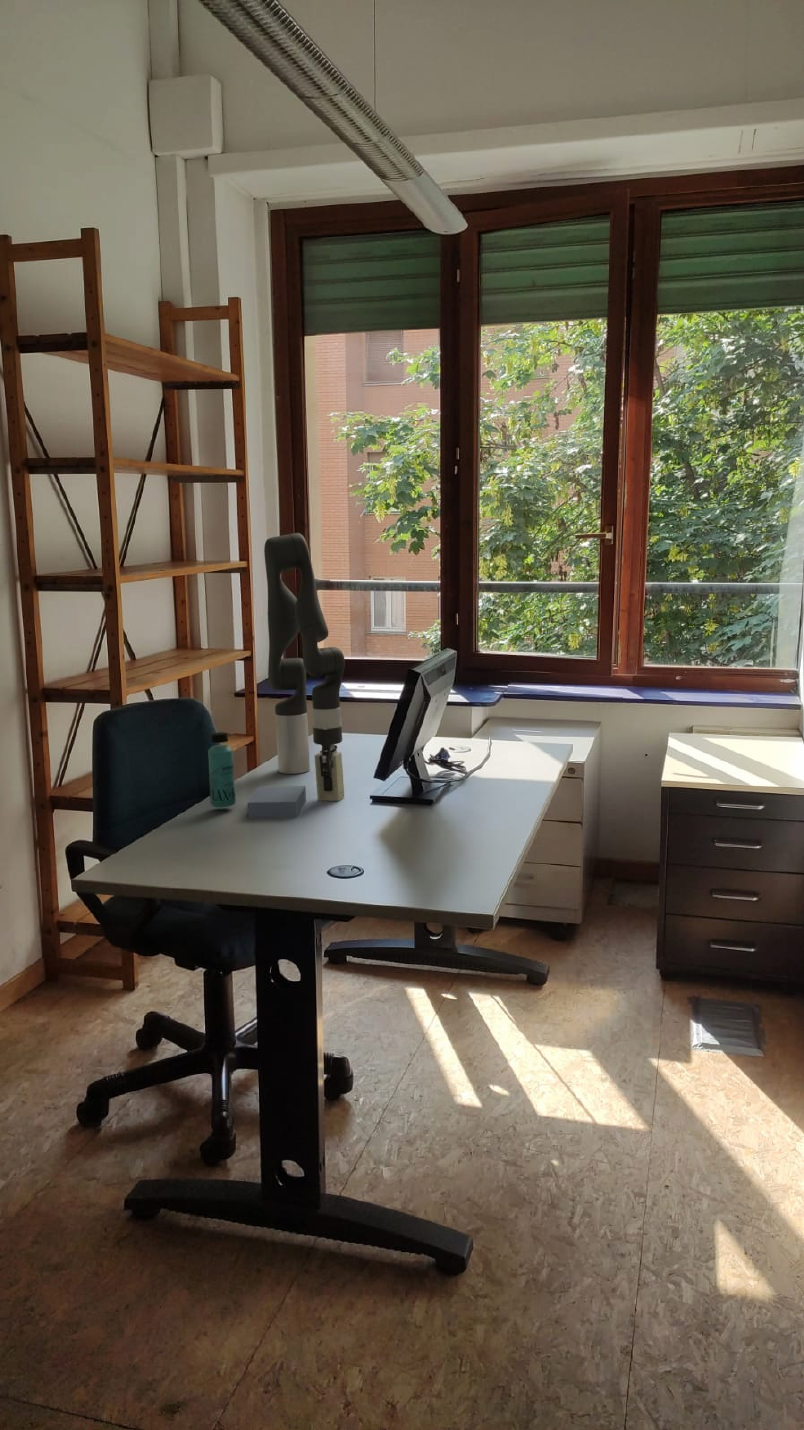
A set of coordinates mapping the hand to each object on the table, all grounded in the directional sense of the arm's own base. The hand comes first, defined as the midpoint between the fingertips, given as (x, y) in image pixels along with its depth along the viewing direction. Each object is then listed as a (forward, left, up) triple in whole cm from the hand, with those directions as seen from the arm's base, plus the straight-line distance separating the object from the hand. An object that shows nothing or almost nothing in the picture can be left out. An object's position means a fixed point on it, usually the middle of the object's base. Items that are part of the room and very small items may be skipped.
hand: (330, 788), depth 276 cm
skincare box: (0, 0, -3) cm, 3 cm away
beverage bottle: (+10, -26, -3) cm, 28 cm away
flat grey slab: (+10, -12, -3) cm, 16 cm away
